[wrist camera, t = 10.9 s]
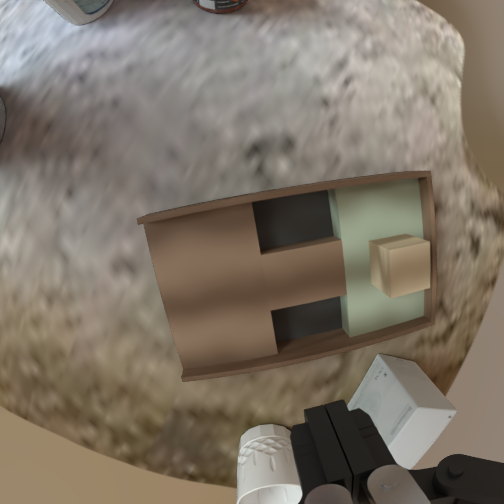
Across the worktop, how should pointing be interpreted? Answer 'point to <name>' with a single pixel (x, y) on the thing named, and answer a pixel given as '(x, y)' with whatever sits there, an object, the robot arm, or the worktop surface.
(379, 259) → the maple block
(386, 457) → the robot arm
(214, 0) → the supplement bottle
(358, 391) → the skincare box
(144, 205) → the worktop surface
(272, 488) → the white cup
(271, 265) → the box
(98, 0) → the spray can
